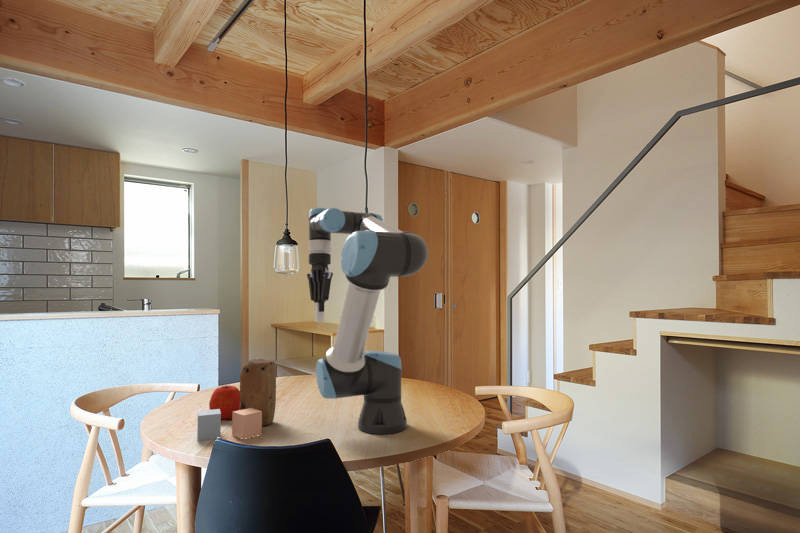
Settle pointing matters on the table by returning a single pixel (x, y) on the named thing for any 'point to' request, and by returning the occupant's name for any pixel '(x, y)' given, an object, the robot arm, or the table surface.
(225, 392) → the apple
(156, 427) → the table surface
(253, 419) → the terracotta block
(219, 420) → the slate block
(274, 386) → the brown long irregular lump
